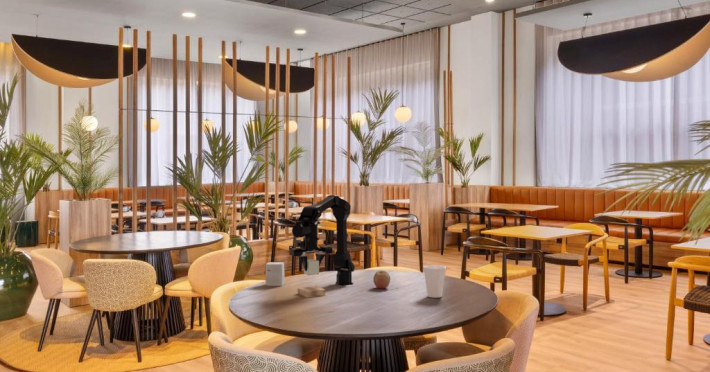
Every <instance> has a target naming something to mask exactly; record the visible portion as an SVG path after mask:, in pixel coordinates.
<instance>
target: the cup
mask: <svg viewBox="0 0 710 372" xmlns="http://www.w3.org/2000/svg"><path fill="white" fill-rule="evenodd" d="M422 270H423V273H424V279H425V286H426V294H427V295H426V296H427V297H429V298H433V299H434V298H435V299H437V298H441V297H443V290H444V283H445V276H446V272H447V266H445V265H441V264H426V265H423V266H422Z"/></svg>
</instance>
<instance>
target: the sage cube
mask: <svg viewBox="0 0 710 372" xmlns="http://www.w3.org/2000/svg"><path fill="white" fill-rule="evenodd" d="M303 274H304V275H306V276H315V275H316V276H317V275H318V276H319V275H320V266H319V261H318V260H316V258H315V259H314V258H312V259H307V271H305V269H304V268H303Z"/></svg>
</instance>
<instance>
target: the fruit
mask: <svg viewBox="0 0 710 372" xmlns="http://www.w3.org/2000/svg"><path fill="white" fill-rule="evenodd" d="M372 281H373V283H374V286H375V288H377V289H379V290H382V289H386V288H388V287H389V285H390V282H391V275H390V274H389V272H387V271H386V270H377V271H376V272H375V273H374V275H373V279H372Z"/></svg>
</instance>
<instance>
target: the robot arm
mask: <svg viewBox="0 0 710 372" xmlns="http://www.w3.org/2000/svg"><path fill="white" fill-rule="evenodd" d="M328 209H331V210H332V215H333V217H334V219H335V220H336V221H335V223H336V251H335V253H334V249H333V247H332V246H330V245H321V246H319V244H318V243H319V242H318V241H319V240H320V237H319V236H318V233H319V232H318V231H319V229H318V225H320V224H321V222H320V221H319V218H321V217H322V214H323V212H325V211H327V210H328ZM350 215H351V204H350V203H349V201H347V200H345V199H343V198H341V197H340V196H339V195H336V194H335V195H334V194H329V195H327V196H326V197H325V198H323V199H322V200H320V201H318V202H317V203H315V204H311V205H306V206H304V207H302V210H301V213H300V215H299V218H298V220H297V221H295V224H294V225H293V226H292V229H291V233H292V235H293V236H294V237H295V238H302V237H303V239H302V240H301V239H296V240H295V247H294V248H293V247H292V248H290V249H289V251H288V253H289V254H288V255H289V256H292V257H297V258H298V259H300V261H301V263H302V266H303V270H304V269H305V271H307V260H308V255H306V254H312V253H313V254H315V260H318V261H319V267H320V265H321V264H322V261H323V259H324V258H325V257H326V256H327V254H332V266H333V269H334V272H335V271H336V272H337V273H336V274H335V275H336V281H335V284H338V285H340V286H344V285H345V286H346V285H347V286H348V285H353V284H354V282H352V281H353V280H352V279H353V278H352V277H353V275H352V274H353V273H352V272H355V268H356V266H355V264H354V263H353V261H352V256H351V254H350V252H349V251H348V223H347V222H348V221H347V220H348V218H349V217H350Z"/></svg>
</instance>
